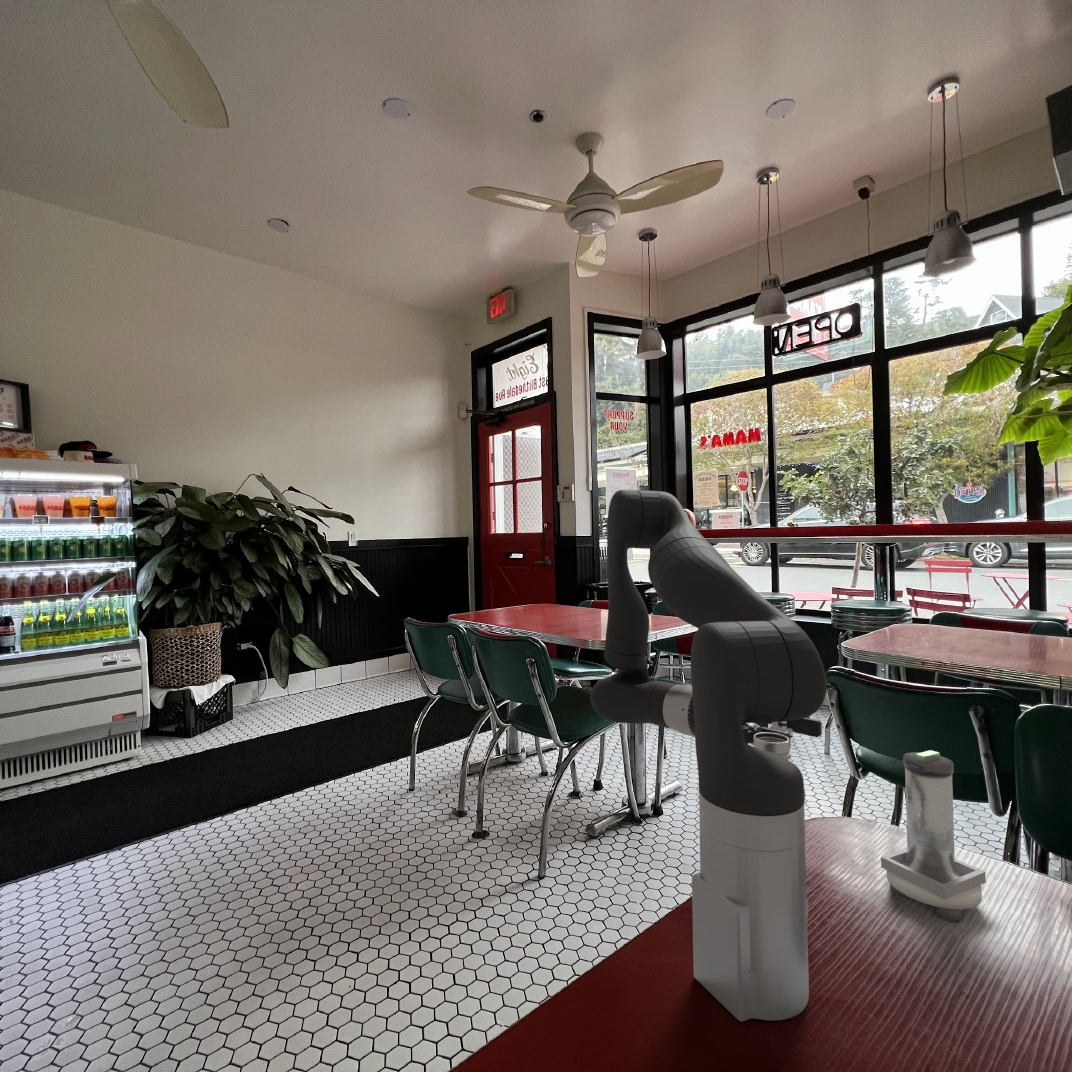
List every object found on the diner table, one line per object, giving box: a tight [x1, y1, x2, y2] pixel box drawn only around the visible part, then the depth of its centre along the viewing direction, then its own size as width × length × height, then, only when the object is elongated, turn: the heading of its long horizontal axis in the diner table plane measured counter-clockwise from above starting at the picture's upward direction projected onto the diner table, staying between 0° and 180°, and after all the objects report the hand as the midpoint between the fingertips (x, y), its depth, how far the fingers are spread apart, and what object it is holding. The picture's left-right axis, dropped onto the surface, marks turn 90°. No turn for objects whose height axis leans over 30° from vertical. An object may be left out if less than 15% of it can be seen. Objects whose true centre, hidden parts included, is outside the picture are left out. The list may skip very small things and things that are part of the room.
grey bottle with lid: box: [902, 749, 956, 884], centre depth 68 cm, size 5×5×14 cm
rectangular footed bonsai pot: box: [880, 847, 987, 923], centre depth 68 cm, size 9×9×4 cm
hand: (805, 735), depth 79 cm, fingers open, 8 cm apart
